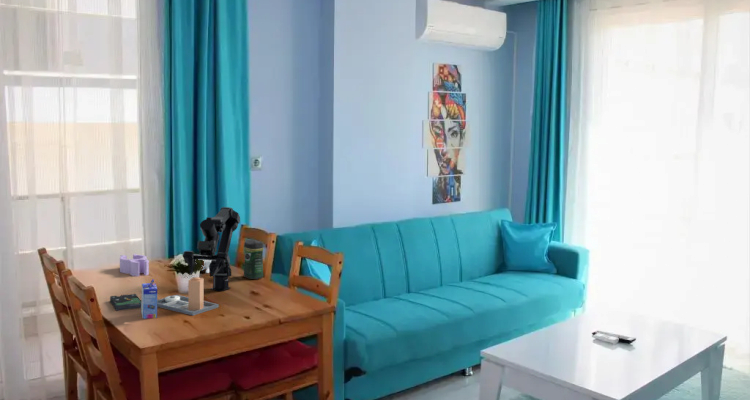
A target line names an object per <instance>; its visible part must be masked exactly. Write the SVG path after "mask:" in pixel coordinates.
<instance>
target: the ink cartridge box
mask: <svg viewBox="0 0 750 400" xmlns="http://www.w3.org/2000/svg"><path fill="white" fill-rule="evenodd" d="M140 300H141V308H140V313H141V317H142V319H144V320H145V319H157V318H158V307H157V300H158V287H157V283H155V279H154V278H152V279H151V281H150V282H149V283H147V282H146V283H141V299H140Z"/></svg>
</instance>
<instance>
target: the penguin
mask: <svg viewBox="0 0 750 400" xmlns="http://www.w3.org/2000/svg"><path fill="white" fill-rule="evenodd" d="M203 261H204V266H203V265H202V267H203V269H202V270H201V271H204V270H205V274H210V272H209V265H210V263H211V261H212V260H203Z"/></svg>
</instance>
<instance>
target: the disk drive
mask: <svg viewBox="0 0 750 400" xmlns="http://www.w3.org/2000/svg"><path fill="white" fill-rule="evenodd" d="M109 298H110V299H109V302H110V303H111V305H112V306H113V308H114V310H115V311H124V310H134V309H141V299H140V297H139V296H138V294H136V293H131V294H122V295H120V296H119V295H111V296H110V297H109Z"/></svg>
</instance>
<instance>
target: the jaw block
mask: <svg viewBox="0 0 750 400" xmlns="http://www.w3.org/2000/svg"><path fill="white" fill-rule="evenodd" d="M204 281H205V280H204V277H200V276H199V277H198V276H195V277H191V278H190V279H189V280H188V281H187V282H188V283H187V284H188V286H187V287H188V288H187V290H188V293H187V294H188V296H187V297H188V310H195V311H196V310H200V309H202V308H203V307H204V301H205V300H204V299H205V298H204V290H205V289H204V284H205V283H204Z"/></svg>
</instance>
